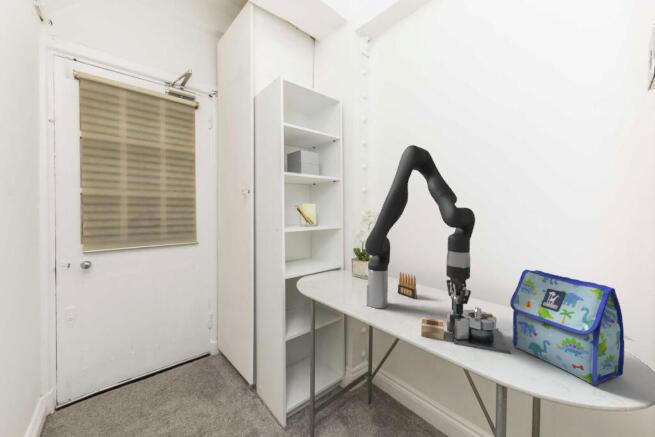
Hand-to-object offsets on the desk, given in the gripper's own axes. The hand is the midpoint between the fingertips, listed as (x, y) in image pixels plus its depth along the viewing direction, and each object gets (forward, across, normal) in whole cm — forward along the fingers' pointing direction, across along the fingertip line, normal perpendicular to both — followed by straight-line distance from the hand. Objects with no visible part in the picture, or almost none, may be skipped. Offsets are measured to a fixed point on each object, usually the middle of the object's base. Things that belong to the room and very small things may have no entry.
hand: (457, 311), depth 91 cm
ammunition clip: (+9, -43, -6) cm, 44 cm away
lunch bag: (+10, +13, +25) cm, 30 cm away
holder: (+9, -3, -8) cm, 12 cm away
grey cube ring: (+8, 0, +5) cm, 10 cm away
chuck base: (+9, -1, +8) cm, 12 cm away
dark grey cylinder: (+5, 0, 0) cm, 5 cm away
